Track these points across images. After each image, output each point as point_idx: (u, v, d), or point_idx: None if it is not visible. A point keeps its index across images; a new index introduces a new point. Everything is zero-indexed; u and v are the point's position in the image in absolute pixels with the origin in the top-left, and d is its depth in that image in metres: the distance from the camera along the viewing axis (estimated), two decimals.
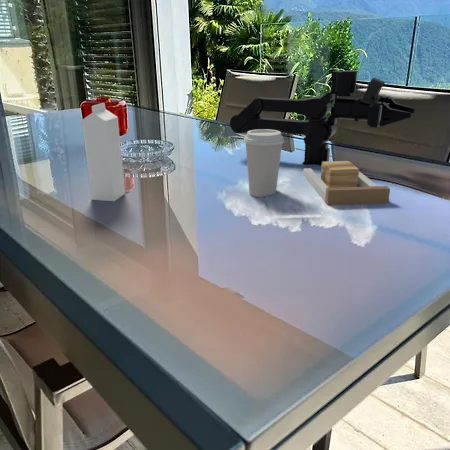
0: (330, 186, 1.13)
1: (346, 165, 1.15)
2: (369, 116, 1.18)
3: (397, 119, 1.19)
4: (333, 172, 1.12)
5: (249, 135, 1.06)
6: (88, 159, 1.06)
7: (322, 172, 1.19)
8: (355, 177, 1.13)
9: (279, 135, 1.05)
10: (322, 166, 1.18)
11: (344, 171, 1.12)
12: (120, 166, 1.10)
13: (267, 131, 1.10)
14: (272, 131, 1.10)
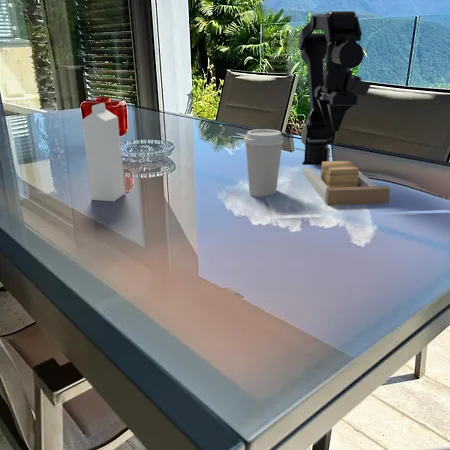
0: (330, 186, 1.13)
1: (346, 165, 1.15)
2: (345, 95, 1.09)
3: (333, 119, 1.16)
4: (333, 172, 1.12)
5: (249, 135, 1.06)
6: (88, 159, 1.06)
7: (322, 172, 1.19)
8: (355, 177, 1.13)
9: (279, 135, 1.05)
10: (322, 166, 1.18)
11: (344, 171, 1.12)
12: (120, 166, 1.10)
13: (267, 131, 1.10)
14: (272, 131, 1.10)
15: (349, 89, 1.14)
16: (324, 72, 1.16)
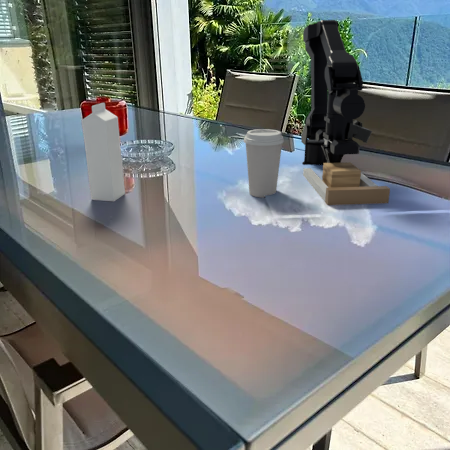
0: None
1: (348, 167, 1.14)
2: (346, 144, 1.09)
3: None
4: (335, 174, 1.10)
5: (249, 135, 1.06)
6: (88, 159, 1.06)
7: (324, 173, 1.17)
8: (357, 179, 1.11)
9: (279, 135, 1.05)
10: (324, 168, 1.17)
11: (346, 173, 1.10)
12: (120, 166, 1.10)
13: (267, 131, 1.10)
14: (272, 131, 1.10)
15: (350, 136, 1.15)
16: (326, 119, 1.16)
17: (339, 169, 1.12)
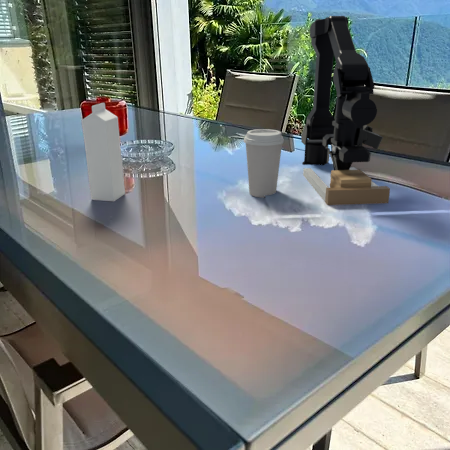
0: None
1: (357, 174, 1.07)
2: (356, 152, 1.02)
3: None
4: (344, 182, 1.04)
5: (249, 135, 1.06)
6: (88, 159, 1.06)
7: (331, 181, 1.11)
8: None
9: (279, 135, 1.05)
10: (331, 175, 1.11)
11: (356, 181, 1.04)
12: (120, 166, 1.10)
13: (267, 131, 1.10)
14: (272, 131, 1.10)
15: (360, 142, 1.08)
16: (334, 124, 1.09)
17: (348, 177, 1.05)
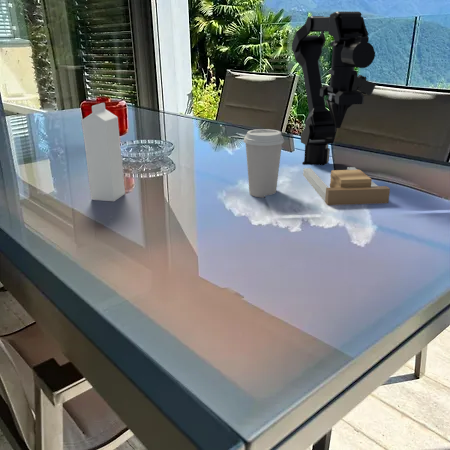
0: None
1: (357, 174, 1.07)
2: (351, 94, 1.10)
3: (335, 117, 1.20)
4: (344, 182, 1.04)
5: (249, 135, 1.06)
6: (88, 159, 1.06)
7: (331, 181, 1.11)
8: None
9: (279, 135, 1.05)
10: (331, 175, 1.11)
11: (356, 181, 1.04)
12: (120, 166, 1.10)
13: (267, 131, 1.10)
14: (272, 131, 1.10)
15: (355, 88, 1.16)
16: (330, 72, 1.17)
17: (348, 177, 1.05)
